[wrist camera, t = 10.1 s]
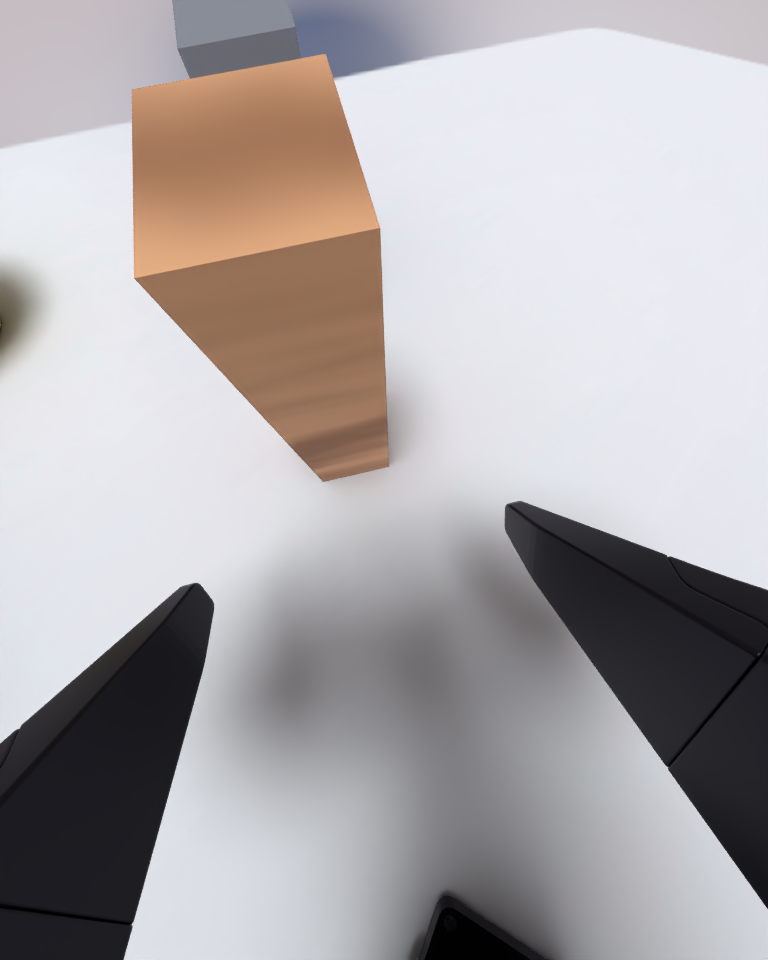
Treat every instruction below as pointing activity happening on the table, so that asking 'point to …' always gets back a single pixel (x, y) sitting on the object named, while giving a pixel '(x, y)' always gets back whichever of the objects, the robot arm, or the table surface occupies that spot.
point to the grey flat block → (233, 34)
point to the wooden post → (268, 250)
